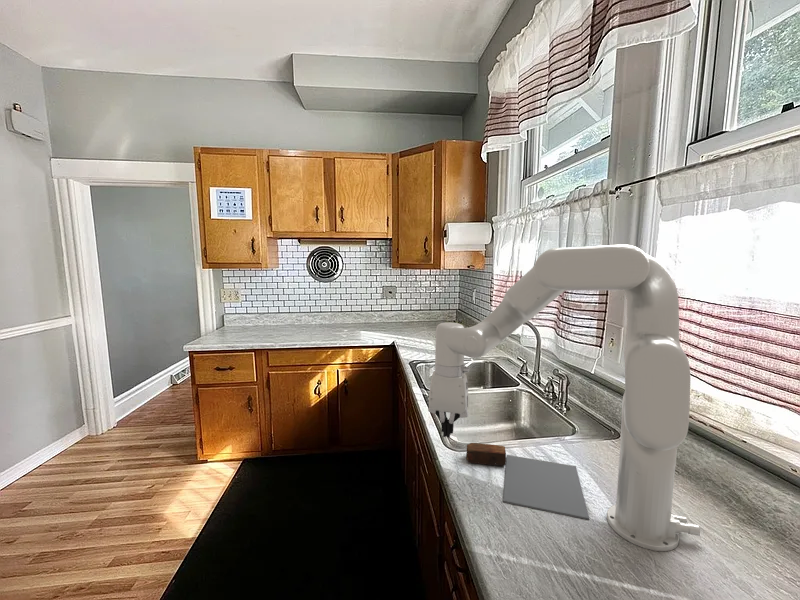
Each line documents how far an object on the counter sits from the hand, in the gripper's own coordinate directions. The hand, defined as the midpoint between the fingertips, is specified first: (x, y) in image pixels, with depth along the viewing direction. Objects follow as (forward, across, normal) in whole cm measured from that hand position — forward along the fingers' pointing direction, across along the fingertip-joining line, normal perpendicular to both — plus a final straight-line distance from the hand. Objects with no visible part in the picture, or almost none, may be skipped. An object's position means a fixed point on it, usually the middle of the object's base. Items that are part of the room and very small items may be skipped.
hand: (447, 434), depth 97 cm
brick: (+5, -8, -2) cm, 10 cm away
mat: (+9, -24, 0) cm, 26 cm away
